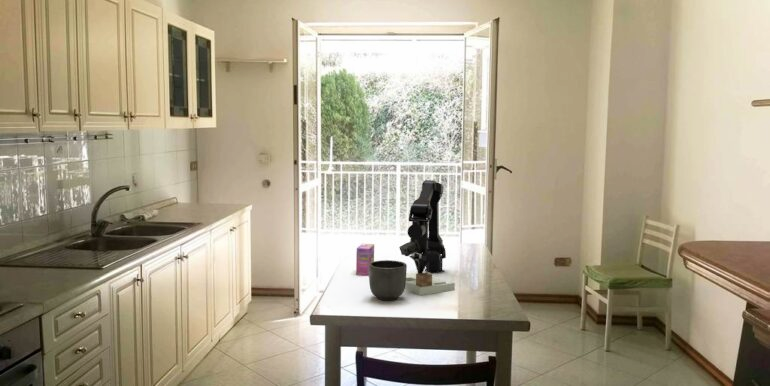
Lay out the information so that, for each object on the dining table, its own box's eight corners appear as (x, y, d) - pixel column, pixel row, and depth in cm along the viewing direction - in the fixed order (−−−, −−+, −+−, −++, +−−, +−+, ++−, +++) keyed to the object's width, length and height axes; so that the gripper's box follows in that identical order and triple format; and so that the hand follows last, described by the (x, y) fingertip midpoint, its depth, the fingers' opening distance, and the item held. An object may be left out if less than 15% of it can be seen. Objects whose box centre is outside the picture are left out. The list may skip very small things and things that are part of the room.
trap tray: (419, 276, 261) (419, 269, 260) (454, 290, 239) (454, 283, 239) (386, 280, 253) (386, 274, 252) (420, 295, 231) (420, 288, 231)
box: (369, 275, 261) (369, 248, 260) (356, 275, 262) (356, 247, 261) (374, 270, 271) (374, 244, 270) (361, 269, 273) (361, 243, 271)
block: (425, 283, 240) (425, 272, 240) (432, 286, 237) (432, 274, 236) (415, 285, 238) (416, 273, 238) (422, 287, 234) (422, 276, 234)
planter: (379, 305, 217) (379, 270, 216) (362, 296, 229) (362, 262, 228) (413, 301, 223) (413, 266, 222) (395, 291, 236) (395, 258, 234)
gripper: (390, 233, 243) (390, 271, 244) (416, 240, 226) (415, 282, 228) (414, 230, 248) (413, 268, 250) (440, 238, 232) (440, 278, 234)
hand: (420, 274), depth 240 cm, fingers closed
